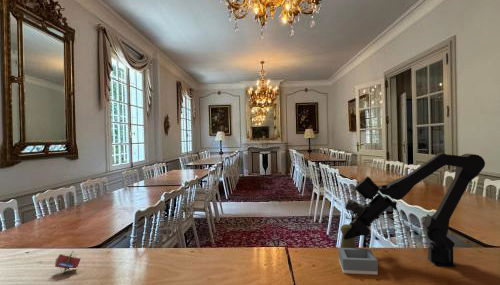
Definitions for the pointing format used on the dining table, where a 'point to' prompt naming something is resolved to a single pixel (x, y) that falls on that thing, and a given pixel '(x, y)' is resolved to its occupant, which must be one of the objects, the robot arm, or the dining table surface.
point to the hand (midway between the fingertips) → (344, 236)
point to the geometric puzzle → (67, 261)
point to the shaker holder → (358, 261)
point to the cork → (348, 242)
